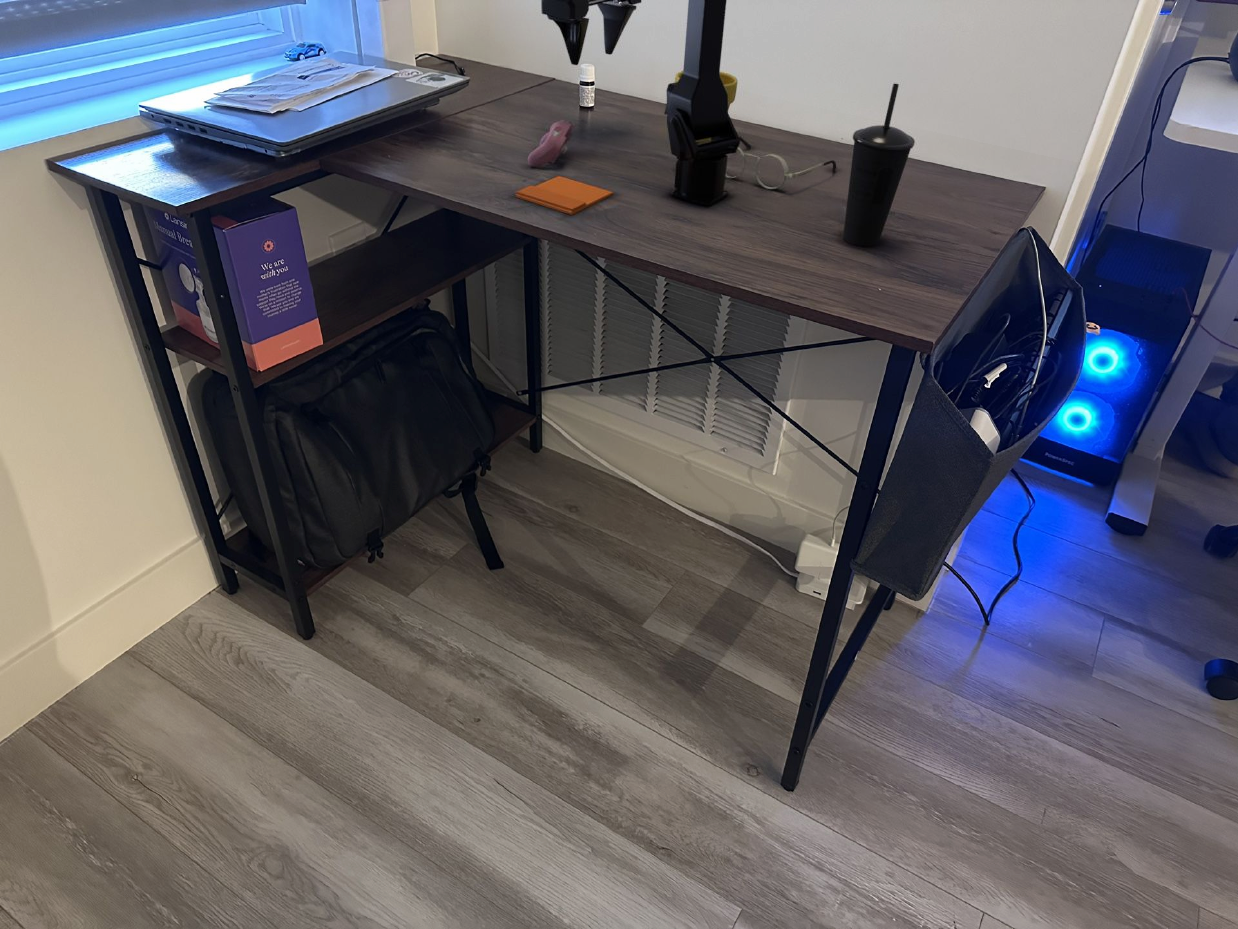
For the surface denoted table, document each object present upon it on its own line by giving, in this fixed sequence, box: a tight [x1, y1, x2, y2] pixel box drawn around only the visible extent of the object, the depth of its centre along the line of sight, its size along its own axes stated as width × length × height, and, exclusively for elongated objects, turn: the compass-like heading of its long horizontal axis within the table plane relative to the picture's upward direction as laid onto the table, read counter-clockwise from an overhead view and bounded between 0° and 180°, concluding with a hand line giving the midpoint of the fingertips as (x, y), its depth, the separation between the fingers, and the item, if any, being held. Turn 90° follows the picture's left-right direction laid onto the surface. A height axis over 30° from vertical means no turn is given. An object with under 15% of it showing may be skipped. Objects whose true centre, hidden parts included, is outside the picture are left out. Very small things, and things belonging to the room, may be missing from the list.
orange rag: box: [515, 175, 614, 216], centre depth 127 cm, size 10×10×1 cm
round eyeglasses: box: [725, 136, 837, 190], centre depth 137 cm, size 17×15×5 cm
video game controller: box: [527, 118, 575, 168], centre depth 137 cm, size 10×5×7 cm, turn 171°
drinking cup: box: [842, 83, 916, 248], centre depth 113 cm, size 8×8×20 cm
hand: (592, 59), depth 138 cm, fingers open, 9 cm apart
